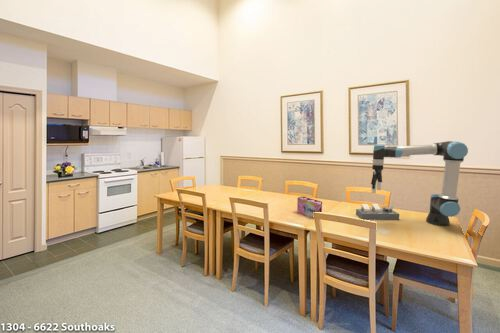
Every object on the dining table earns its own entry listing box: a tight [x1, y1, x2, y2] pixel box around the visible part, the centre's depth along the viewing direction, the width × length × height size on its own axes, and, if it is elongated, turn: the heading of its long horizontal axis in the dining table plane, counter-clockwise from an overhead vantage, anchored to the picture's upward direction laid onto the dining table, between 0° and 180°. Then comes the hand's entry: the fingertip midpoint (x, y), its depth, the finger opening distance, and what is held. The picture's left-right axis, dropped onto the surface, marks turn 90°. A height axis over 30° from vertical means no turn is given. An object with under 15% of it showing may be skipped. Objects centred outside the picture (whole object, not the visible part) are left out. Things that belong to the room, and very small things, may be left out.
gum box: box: [296, 196, 323, 219], centre depth 225 cm, size 24×8×14 cm, turn 33°
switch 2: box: [371, 203, 382, 212], centre depth 220 cm, size 5×9×2 cm, turn 179°
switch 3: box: [381, 205, 394, 210], centre depth 220 cm, size 5×9×2 cm, turn 179°
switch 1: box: [360, 203, 372, 212], centre depth 220 cm, size 5×9×2 cm, turn 179°
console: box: [355, 206, 400, 221], centre depth 219 cm, size 30×14×8 cm, turn 89°
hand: (376, 191), depth 204 cm, fingers open, 13 cm apart
